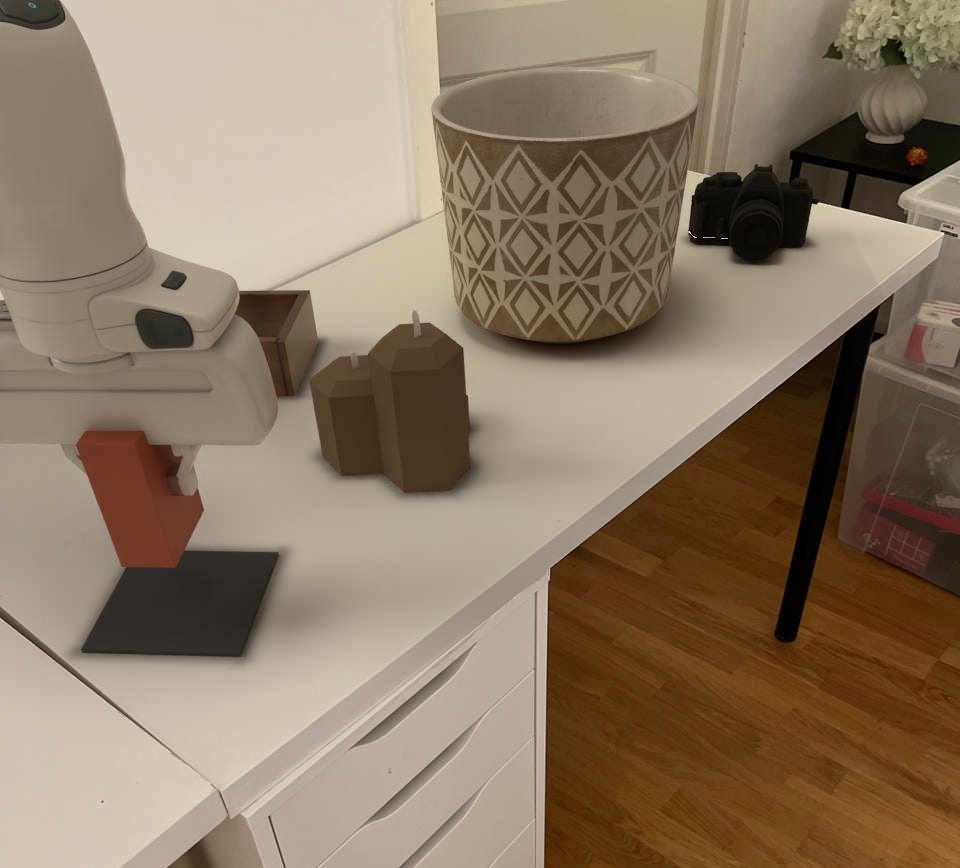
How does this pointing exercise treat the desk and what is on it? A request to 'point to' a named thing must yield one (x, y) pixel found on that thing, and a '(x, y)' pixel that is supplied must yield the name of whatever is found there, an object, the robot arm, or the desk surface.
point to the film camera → (751, 212)
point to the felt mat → (185, 606)
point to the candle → (397, 410)
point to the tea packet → (139, 497)
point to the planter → (563, 197)
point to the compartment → (282, 333)
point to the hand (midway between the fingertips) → (149, 491)
